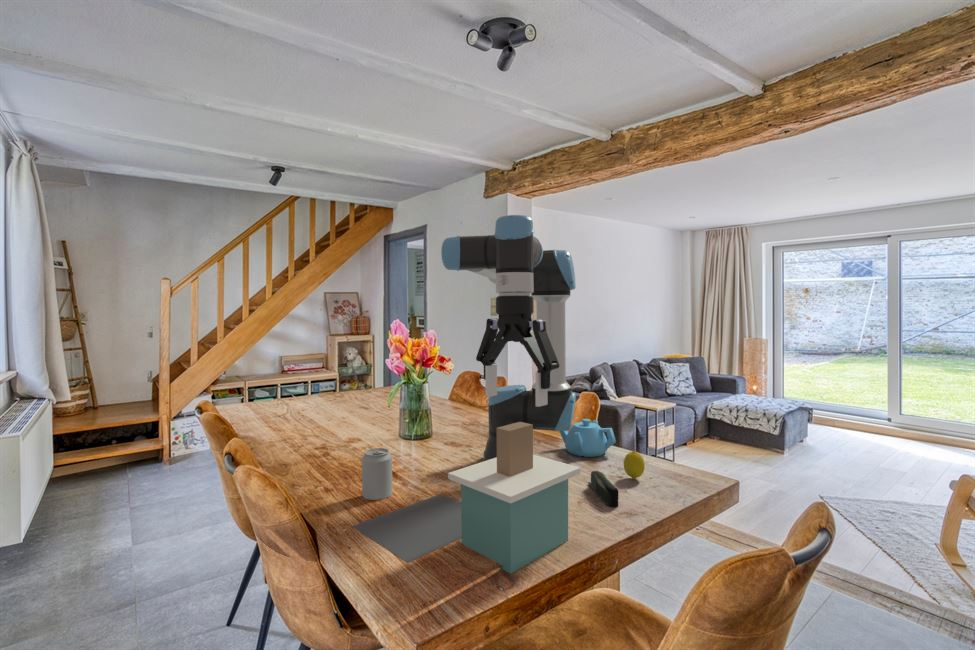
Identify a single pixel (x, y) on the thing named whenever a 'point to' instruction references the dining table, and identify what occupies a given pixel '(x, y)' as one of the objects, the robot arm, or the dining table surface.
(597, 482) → the mobile phone
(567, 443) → the teapot
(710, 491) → the dining table surface
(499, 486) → the lid
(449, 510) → the mat
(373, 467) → the can
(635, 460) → the lemon
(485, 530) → the teal storage bin
